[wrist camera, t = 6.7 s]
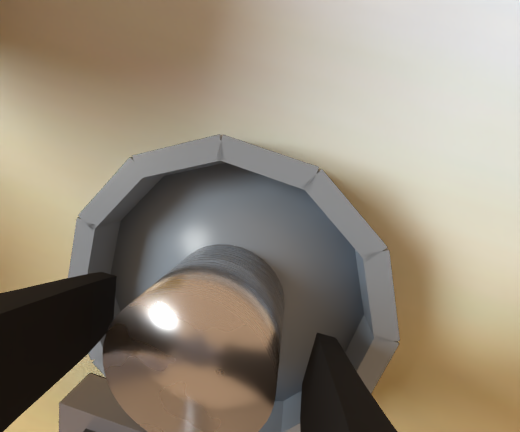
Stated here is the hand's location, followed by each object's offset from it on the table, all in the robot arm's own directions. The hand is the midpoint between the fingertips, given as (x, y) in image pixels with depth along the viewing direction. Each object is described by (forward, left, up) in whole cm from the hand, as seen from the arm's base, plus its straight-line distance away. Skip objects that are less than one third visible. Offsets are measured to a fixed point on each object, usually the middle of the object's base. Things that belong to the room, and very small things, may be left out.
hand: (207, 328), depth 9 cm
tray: (0, 0, -3) cm, 3 cm away
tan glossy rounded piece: (0, 0, -2) cm, 2 cm away
